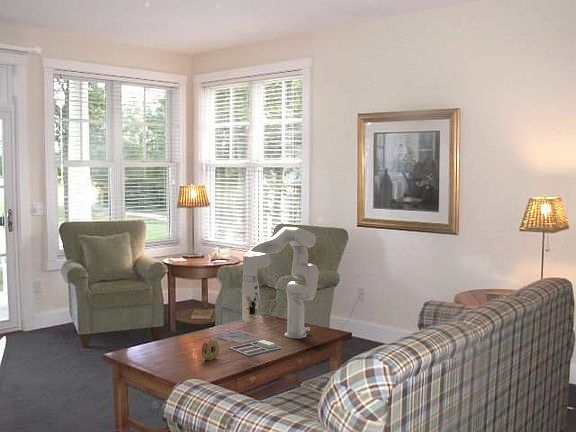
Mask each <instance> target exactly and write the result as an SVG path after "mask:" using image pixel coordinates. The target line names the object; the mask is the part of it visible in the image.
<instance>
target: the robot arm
mask: <svg viewBox="0 0 576 432" xmlns="http://www.w3.org/2000/svg"><path fill="white" fill-rule="evenodd" d="M316 241H317V238H316V235H315V233H313V232H311V231H308V230H306V229H303V228H300V227H292V226H291V227H290V226H284V227H282V228H281V229H280V230H278V231H277V232H276V233H275V234H274V235H273V236H272V237H271V238H270V239H267V240H265V241H262V242H259V243H258V244H256V245H254V246H253V247H251V248H250V249H249V250H248V251H247V253H246V254H244V255H243V257H242V284H241V298H242V297H248V298H249V301H250V315H252V314H255V306H256V304H258V305H259V303H260V302H259V301H260V299H261V295H260V285H259V281H258V279H259V278H258V275H259V274H258V273H259V269H260V268H267V267H268V266H270V265H271V263H272V258H271V256H270V255H272V254H273V255H274V254H278V253H280V252H282V250H283V249H285V247H287V246H288V245H289V246H291V248H292V250H293V251H292V253H293V257H292V264H291V266H292V267H291V276H292V277H293V278H294V279H298V280H302V281H298V280H291V281H290V282H288V283H287V285H286V287H285V291H286V292H285V293H286V298H287V299H286V300H287V321H286V323H287V325H286V330H287V331H286V332H285V333H284V337H285V338H288V339H295V340H297V339H304V338H307V336H308V335H307V333H306V332H309V331H310V330H311V327H308V326H307V327H305V303H304V300H305V301H312V300H313V299H314V298H315V296H316V295H317V294H316V293H317V288H318V281H319V274H320V272H319V268H318V265H316V264H313V263H309V252H308V249H309V248H313V247H314V246H315V245H316ZM258 268H259V269H258ZM303 280H304V281H305V282H304V281H303ZM252 302H253V304H252Z"/></svg>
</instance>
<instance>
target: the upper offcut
mask: <svg viewBox="0 0 576 432" xmlns="http://www.w3.org/2000/svg"><path fill="white" fill-rule="evenodd" d="M256 341H257V343H256V345H258V346H262V347H265V348H268V350H270V348H273V349H274V347H275V345H276V343H275V342H271V341H268V340H264V339H263V340H262V339H261V341H260V340H256Z"/></svg>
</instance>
